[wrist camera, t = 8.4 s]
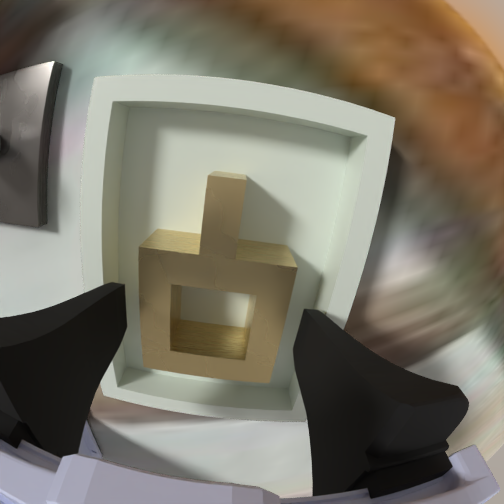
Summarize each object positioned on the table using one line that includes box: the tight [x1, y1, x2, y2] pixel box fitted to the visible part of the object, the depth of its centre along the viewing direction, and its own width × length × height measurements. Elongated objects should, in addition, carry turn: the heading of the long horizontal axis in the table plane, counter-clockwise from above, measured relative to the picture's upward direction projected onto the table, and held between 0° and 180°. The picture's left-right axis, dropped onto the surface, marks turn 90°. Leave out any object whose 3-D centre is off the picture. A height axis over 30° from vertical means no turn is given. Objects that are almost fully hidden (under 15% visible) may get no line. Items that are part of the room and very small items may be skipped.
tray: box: [80, 74, 395, 422], centre depth 12 cm, size 15×11×2 cm
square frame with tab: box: [138, 171, 298, 383], centre depth 11 cm, size 8×5×2 cm
